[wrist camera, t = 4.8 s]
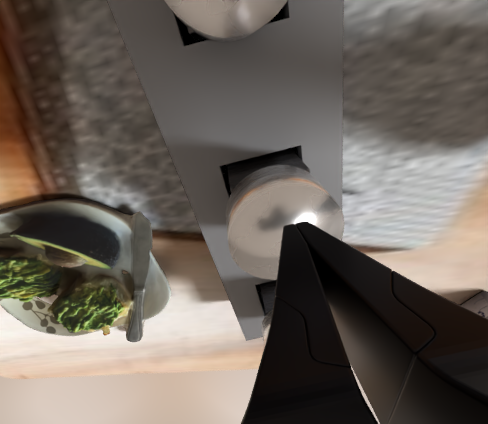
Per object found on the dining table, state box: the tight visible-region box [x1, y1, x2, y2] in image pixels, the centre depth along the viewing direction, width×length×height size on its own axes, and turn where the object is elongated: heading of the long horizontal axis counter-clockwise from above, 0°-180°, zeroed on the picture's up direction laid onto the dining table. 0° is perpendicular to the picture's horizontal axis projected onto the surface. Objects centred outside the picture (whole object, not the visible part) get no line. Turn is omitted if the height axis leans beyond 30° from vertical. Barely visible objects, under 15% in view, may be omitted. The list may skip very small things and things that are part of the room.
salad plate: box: [0, 198, 171, 342], centre depth 23 cm, size 19×18×5 cm
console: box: [107, 0, 344, 341], centre depth 18 cm, size 10×33×5 cm, turn 13°
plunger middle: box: [226, 148, 344, 280], centre depth 14 cm, size 6×6×7 cm
